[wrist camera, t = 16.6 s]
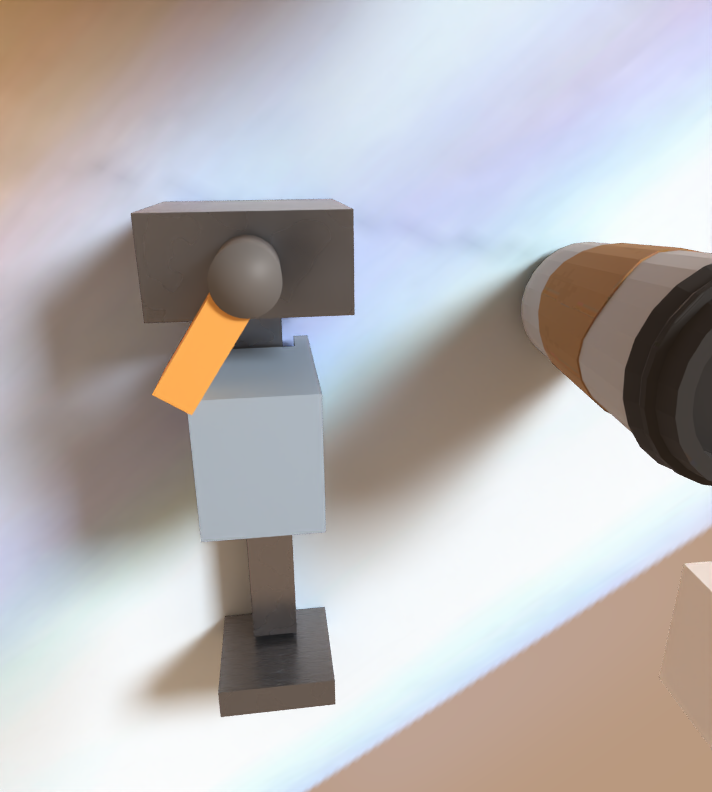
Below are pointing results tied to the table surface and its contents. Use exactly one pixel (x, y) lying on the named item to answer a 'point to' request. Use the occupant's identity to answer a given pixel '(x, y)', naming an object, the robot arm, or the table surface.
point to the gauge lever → (221, 318)
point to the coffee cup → (633, 341)
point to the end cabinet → (222, 220)
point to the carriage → (260, 446)
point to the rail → (272, 553)
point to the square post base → (276, 666)
